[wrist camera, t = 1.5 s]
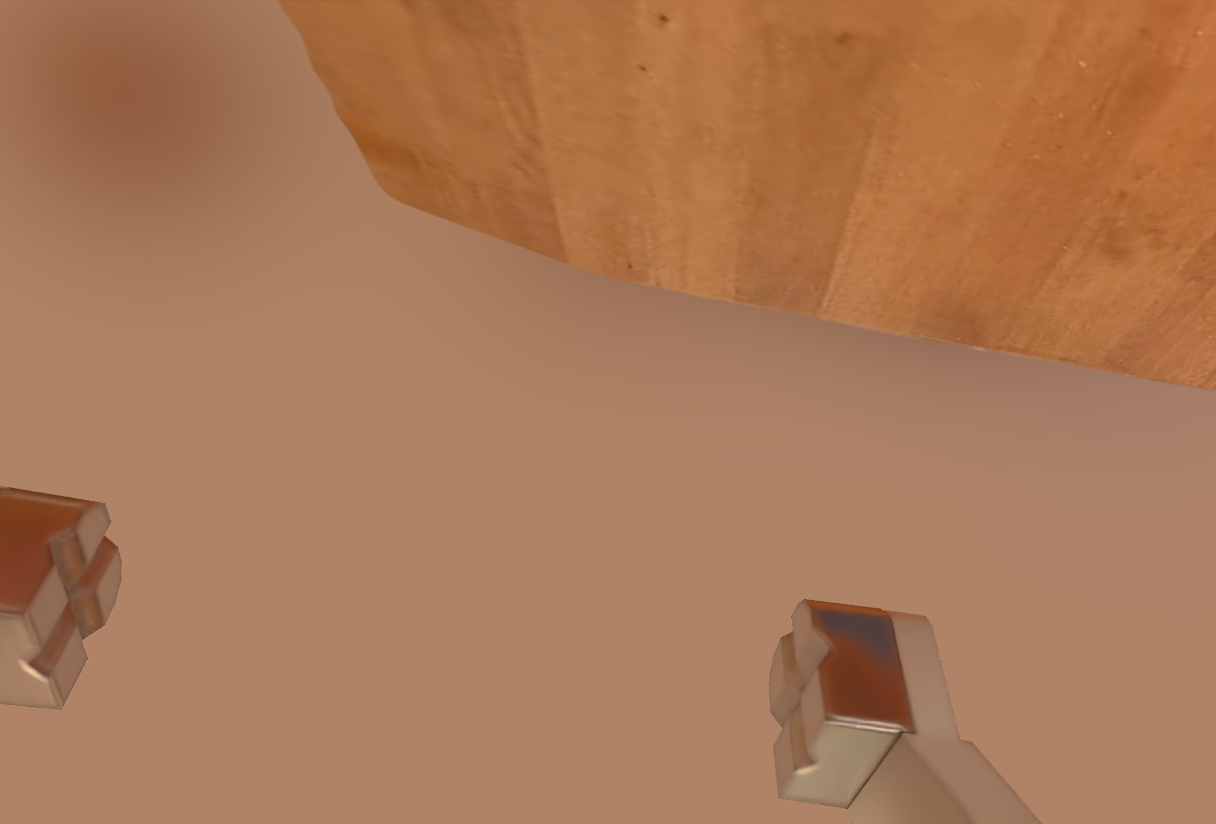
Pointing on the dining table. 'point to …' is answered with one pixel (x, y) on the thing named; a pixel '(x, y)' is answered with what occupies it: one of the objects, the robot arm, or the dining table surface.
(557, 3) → the dining table surface
